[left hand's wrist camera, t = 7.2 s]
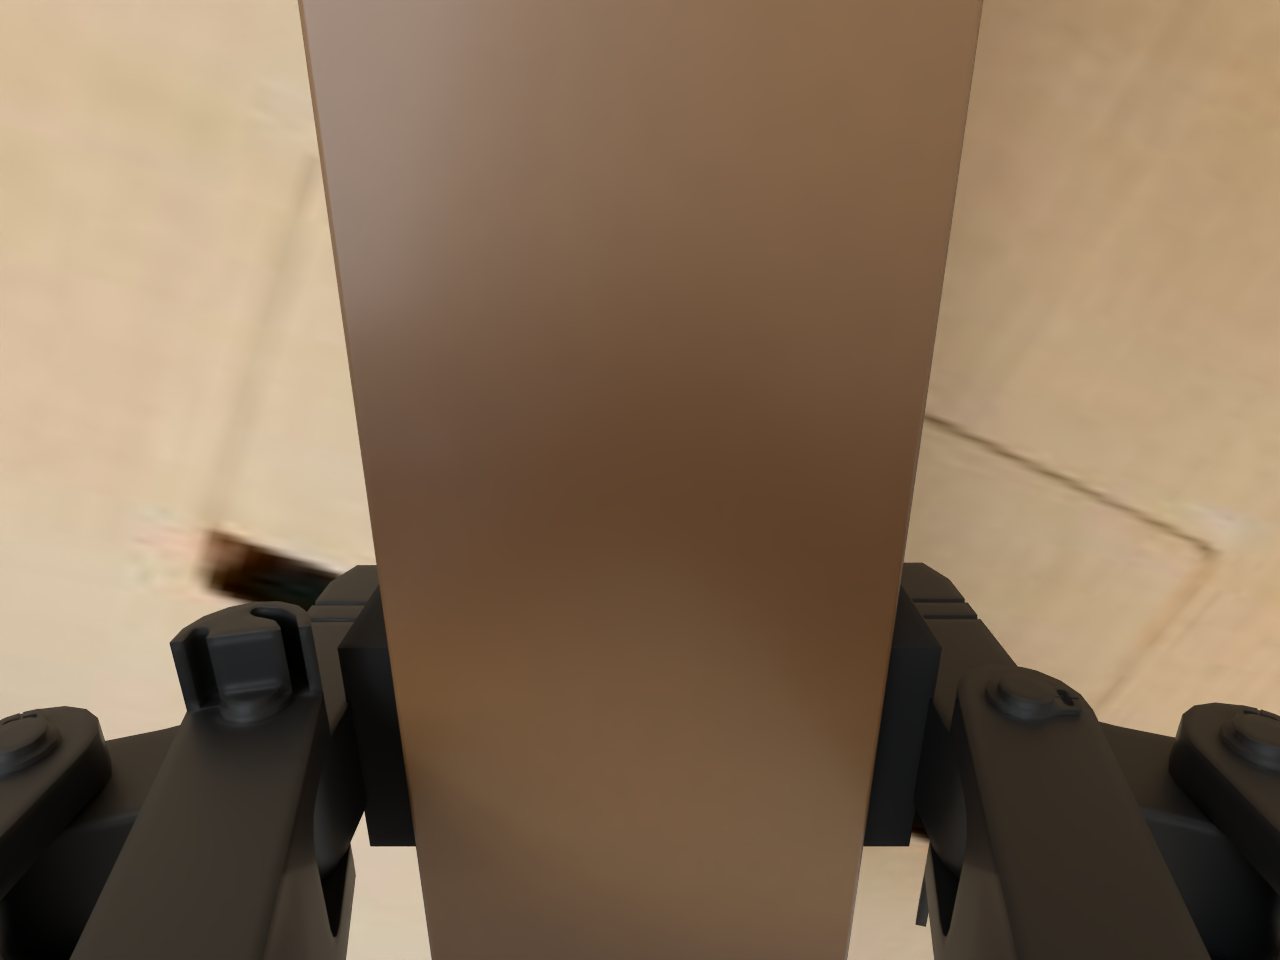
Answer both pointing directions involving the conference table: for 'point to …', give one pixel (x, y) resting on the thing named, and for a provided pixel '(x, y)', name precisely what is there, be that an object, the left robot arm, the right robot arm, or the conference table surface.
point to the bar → (640, 440)
